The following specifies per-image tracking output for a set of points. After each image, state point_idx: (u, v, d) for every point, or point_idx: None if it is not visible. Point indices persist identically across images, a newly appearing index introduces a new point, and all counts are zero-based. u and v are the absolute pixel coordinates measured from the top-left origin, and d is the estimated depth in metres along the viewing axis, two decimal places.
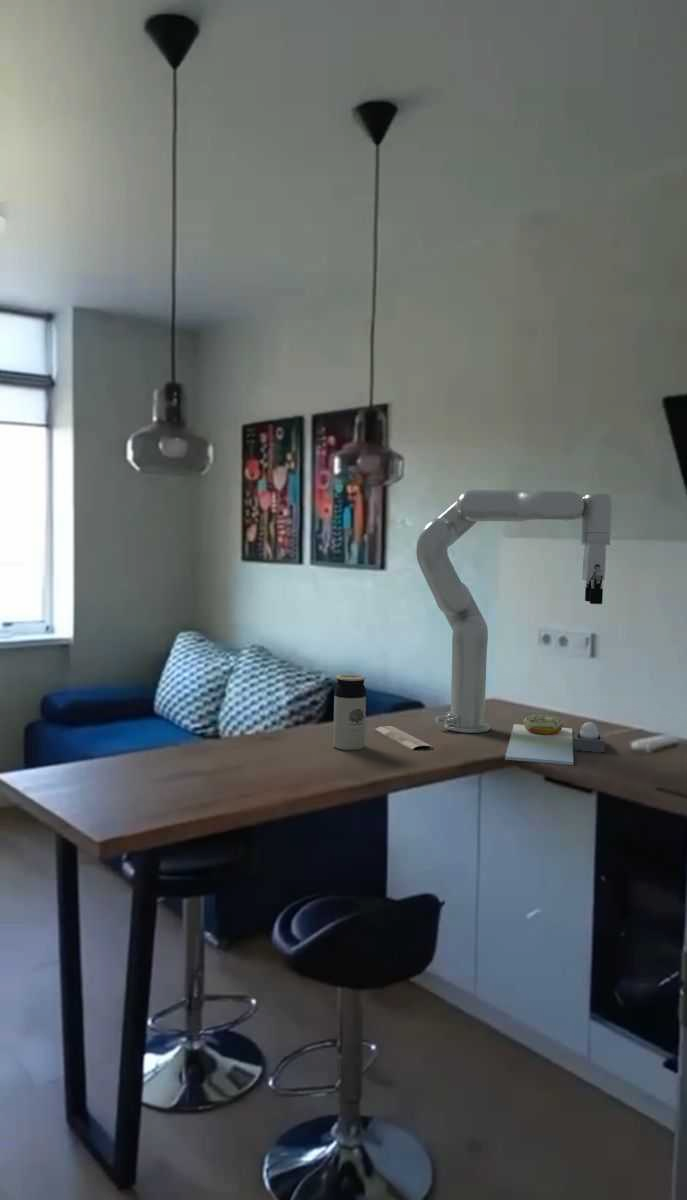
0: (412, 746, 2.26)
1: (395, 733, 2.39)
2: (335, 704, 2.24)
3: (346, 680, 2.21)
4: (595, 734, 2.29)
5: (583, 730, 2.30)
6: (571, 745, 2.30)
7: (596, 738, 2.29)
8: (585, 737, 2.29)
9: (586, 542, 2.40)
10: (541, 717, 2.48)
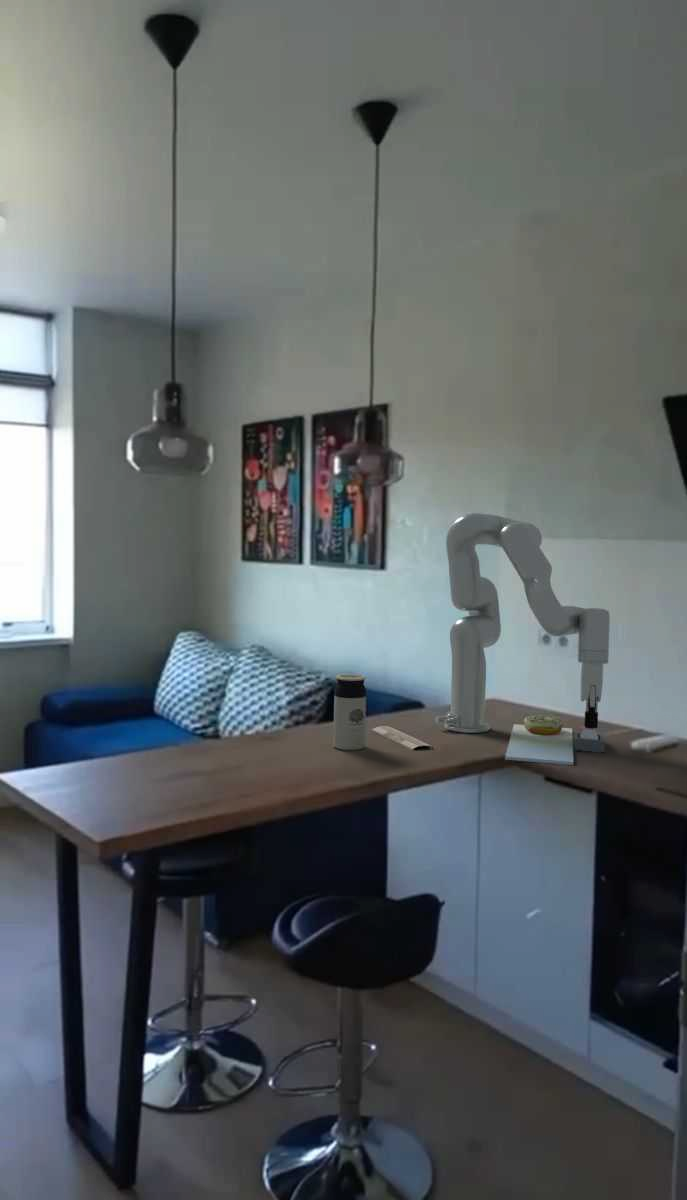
0: (412, 746, 2.26)
1: (393, 733, 2.38)
2: (335, 704, 2.24)
3: (346, 680, 2.21)
4: (595, 739, 2.29)
5: (583, 735, 2.30)
6: (571, 745, 2.30)
7: None
8: None
9: (581, 660, 2.28)
10: (541, 717, 2.48)
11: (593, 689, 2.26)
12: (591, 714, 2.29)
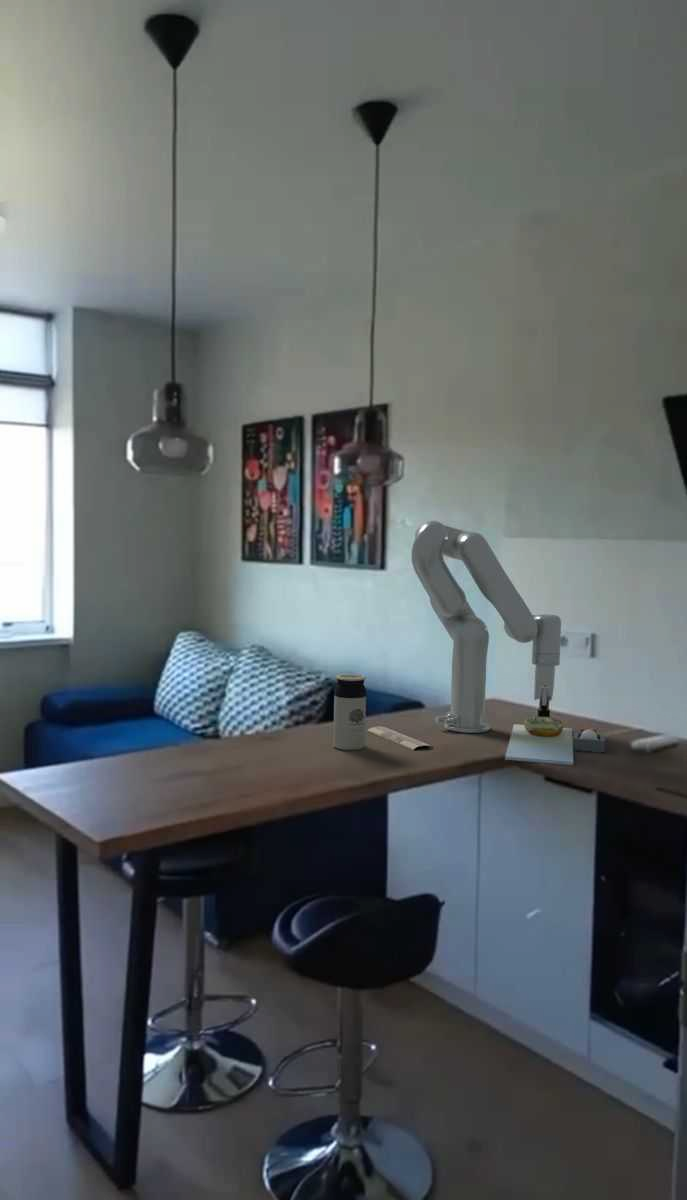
0: (412, 746, 2.26)
1: (390, 733, 2.38)
2: (335, 704, 2.24)
3: (346, 680, 2.21)
4: None
5: (583, 737, 2.30)
6: (571, 745, 2.30)
7: None
8: None
9: (535, 662, 2.49)
10: (542, 719, 2.46)
11: (545, 689, 2.46)
12: (543, 712, 2.50)
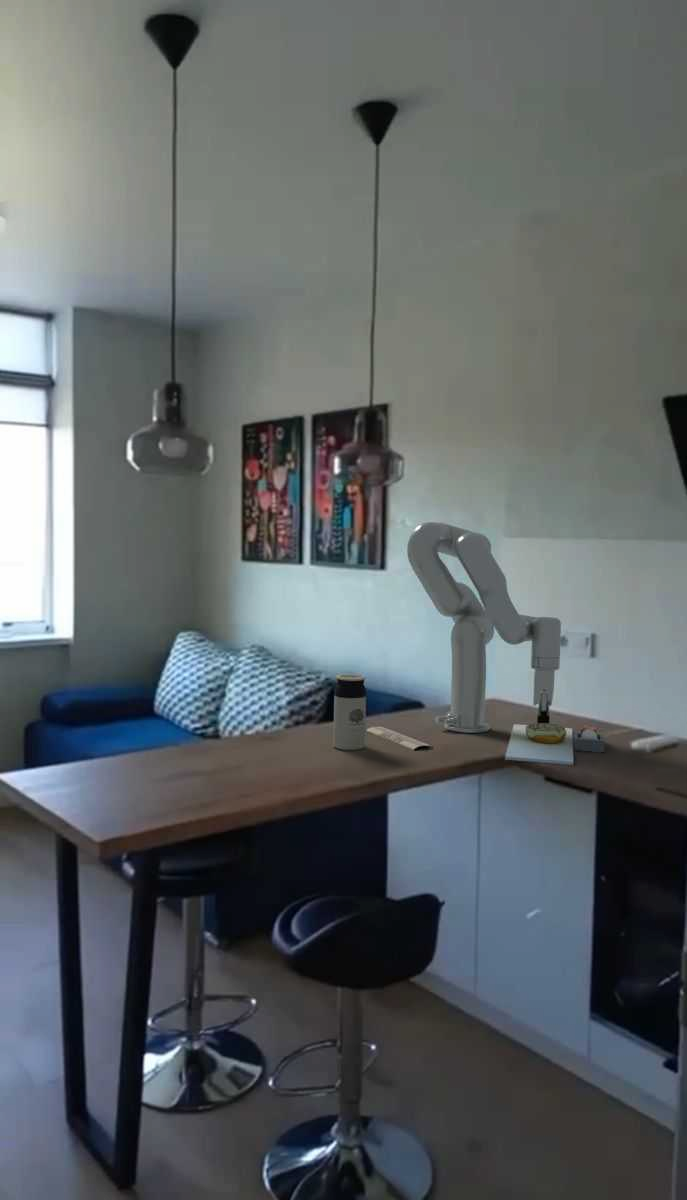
0: (413, 746, 2.26)
1: (389, 733, 2.38)
2: (335, 704, 2.24)
3: (346, 680, 2.21)
4: None
5: (583, 737, 2.30)
6: (571, 745, 2.30)
7: None
8: None
9: (534, 667, 2.40)
10: (544, 725, 2.38)
11: (544, 694, 2.38)
12: (543, 717, 2.42)
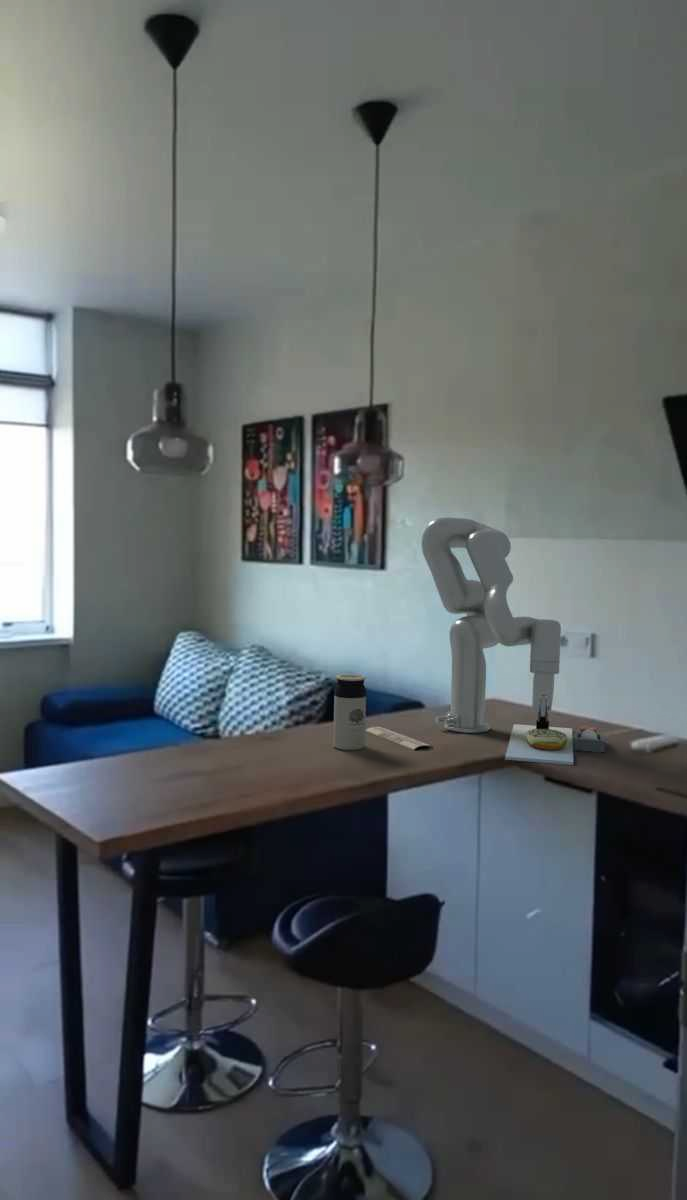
0: (413, 746, 2.26)
1: (389, 734, 2.38)
2: (335, 704, 2.24)
3: (346, 680, 2.21)
4: None
5: (583, 737, 2.30)
6: (571, 745, 2.30)
7: None
8: None
9: (533, 671, 2.33)
10: (544, 731, 2.30)
11: (544, 699, 2.31)
12: (542, 723, 2.34)
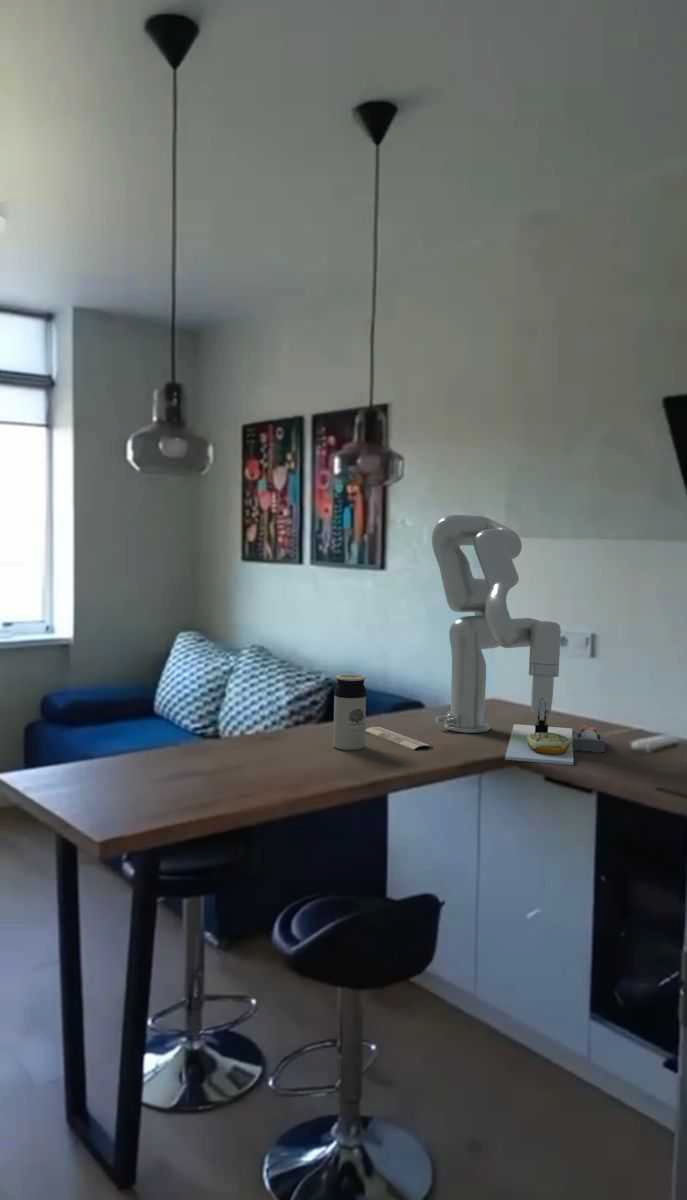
0: (413, 746, 2.26)
1: (388, 734, 2.38)
2: (335, 704, 2.24)
3: (346, 680, 2.21)
4: None
5: (583, 737, 2.30)
6: (571, 745, 2.30)
7: None
8: None
9: (532, 673, 2.29)
10: (545, 735, 2.26)
11: (543, 702, 2.27)
12: (541, 727, 2.30)
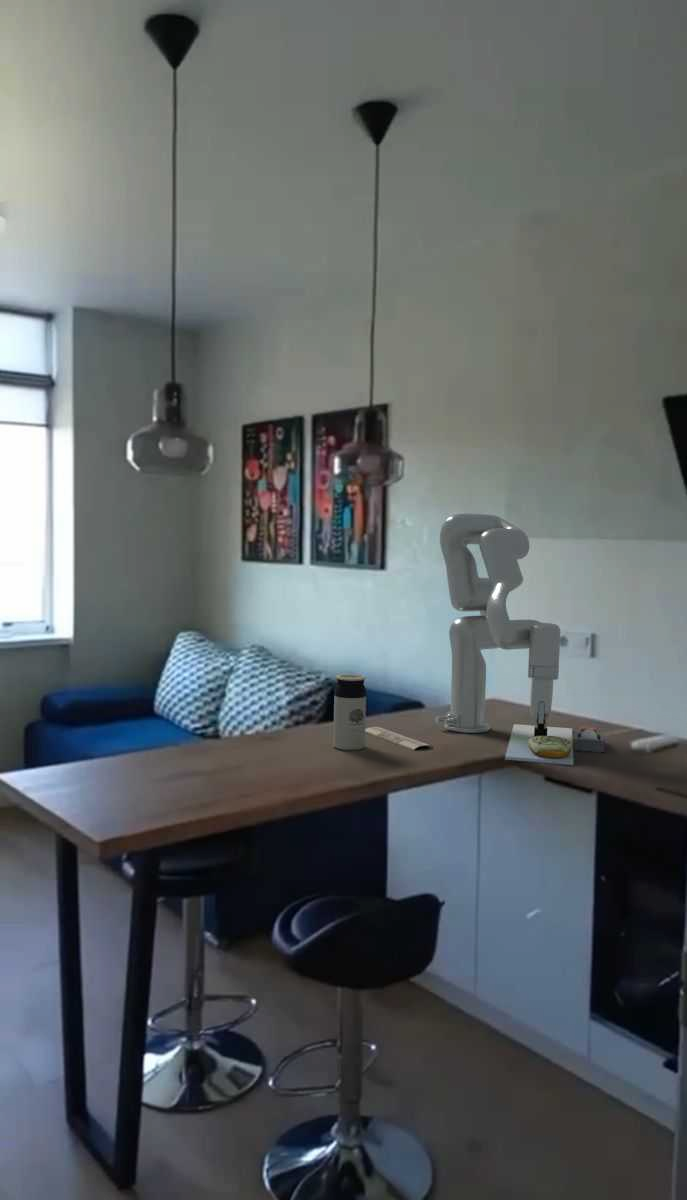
0: (413, 746, 2.26)
1: (388, 734, 2.38)
2: (335, 704, 2.24)
3: (346, 680, 2.21)
4: None
5: (583, 737, 2.30)
6: None
7: None
8: None
9: (531, 676, 2.25)
10: (547, 738, 2.22)
11: (542, 705, 2.23)
12: (540, 730, 2.26)
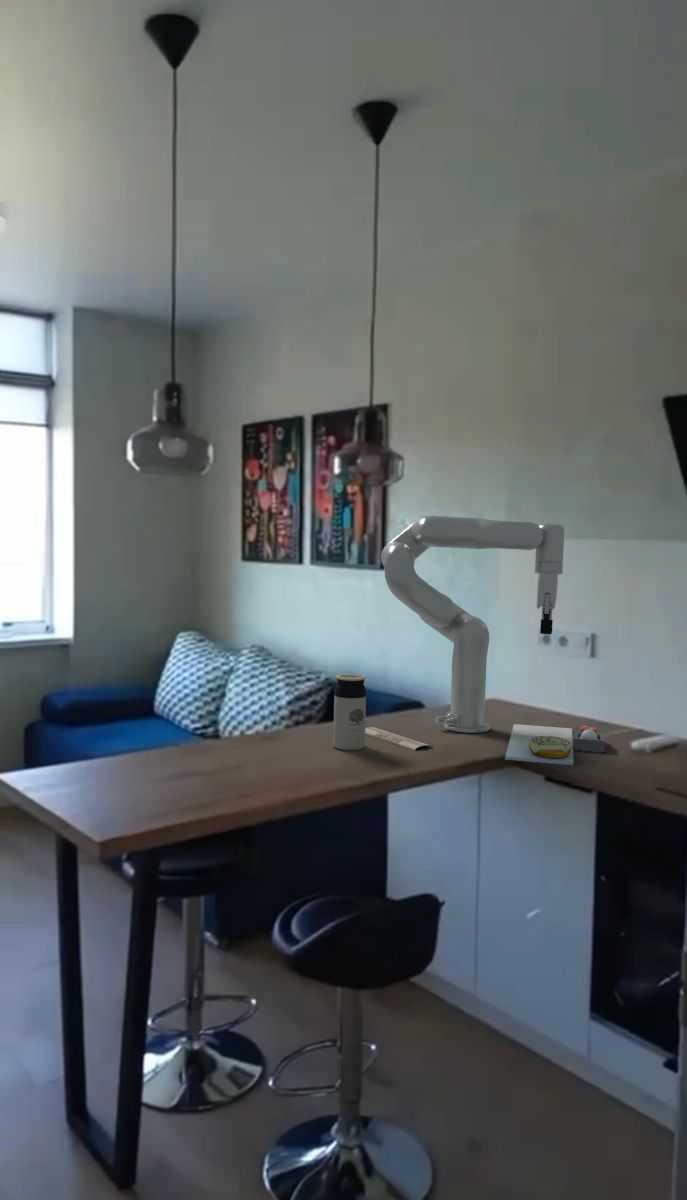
0: (413, 746, 2.25)
1: (385, 734, 2.37)
2: (335, 704, 2.24)
3: (346, 680, 2.21)
4: None
5: (583, 737, 2.30)
6: None
7: None
8: None
9: (538, 571, 2.48)
10: (547, 738, 2.22)
11: (548, 597, 2.46)
12: (546, 621, 2.49)
